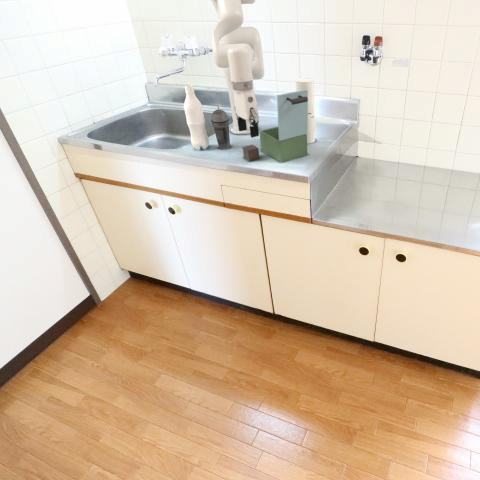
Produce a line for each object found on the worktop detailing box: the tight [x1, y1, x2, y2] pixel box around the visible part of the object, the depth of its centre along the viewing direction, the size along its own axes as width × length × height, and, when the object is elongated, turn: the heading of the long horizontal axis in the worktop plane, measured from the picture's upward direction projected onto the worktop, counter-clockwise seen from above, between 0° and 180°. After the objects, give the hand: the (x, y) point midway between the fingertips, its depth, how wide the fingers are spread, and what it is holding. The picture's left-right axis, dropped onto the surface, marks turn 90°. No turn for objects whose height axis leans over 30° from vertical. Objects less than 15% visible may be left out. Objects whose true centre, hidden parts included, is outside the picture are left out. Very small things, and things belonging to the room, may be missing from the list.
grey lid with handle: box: [276, 90, 308, 141], centre depth 136 cm, size 16×13×6 cm
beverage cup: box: [210, 98, 231, 150], centre depth 153 cm, size 7×7×20 cm
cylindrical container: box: [295, 77, 316, 145], centre depth 156 cm, size 7×7×25 cm
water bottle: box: [183, 84, 210, 151], centre depth 151 cm, size 7×7×25 cm
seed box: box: [259, 126, 309, 163], centre depth 150 cm, size 16×13×8 cm
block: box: [242, 144, 260, 162], centre depth 147 cm, size 4×4×4 cm
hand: (248, 133), depth 142 cm, fingers open, 9 cm apart
